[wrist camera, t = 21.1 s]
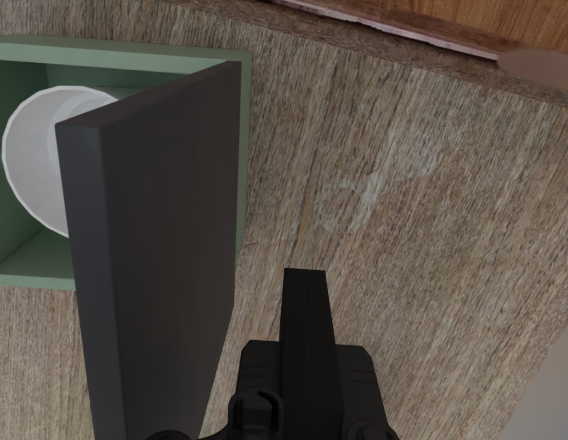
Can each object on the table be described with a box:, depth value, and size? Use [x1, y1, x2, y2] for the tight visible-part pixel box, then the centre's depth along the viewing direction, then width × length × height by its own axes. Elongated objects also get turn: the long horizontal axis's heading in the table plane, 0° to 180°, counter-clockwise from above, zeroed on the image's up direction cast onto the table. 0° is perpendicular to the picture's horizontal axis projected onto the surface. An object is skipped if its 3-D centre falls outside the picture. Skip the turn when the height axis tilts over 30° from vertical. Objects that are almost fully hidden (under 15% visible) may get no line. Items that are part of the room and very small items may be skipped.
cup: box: [2, 85, 151, 238], centre depth 32 cm, size 10×10×10 cm
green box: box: [0, 34, 252, 291], centre depth 32 cm, size 17×15×12 cm
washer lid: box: [54, 60, 242, 440], centre depth 19 cm, size 18×15×1 cm
